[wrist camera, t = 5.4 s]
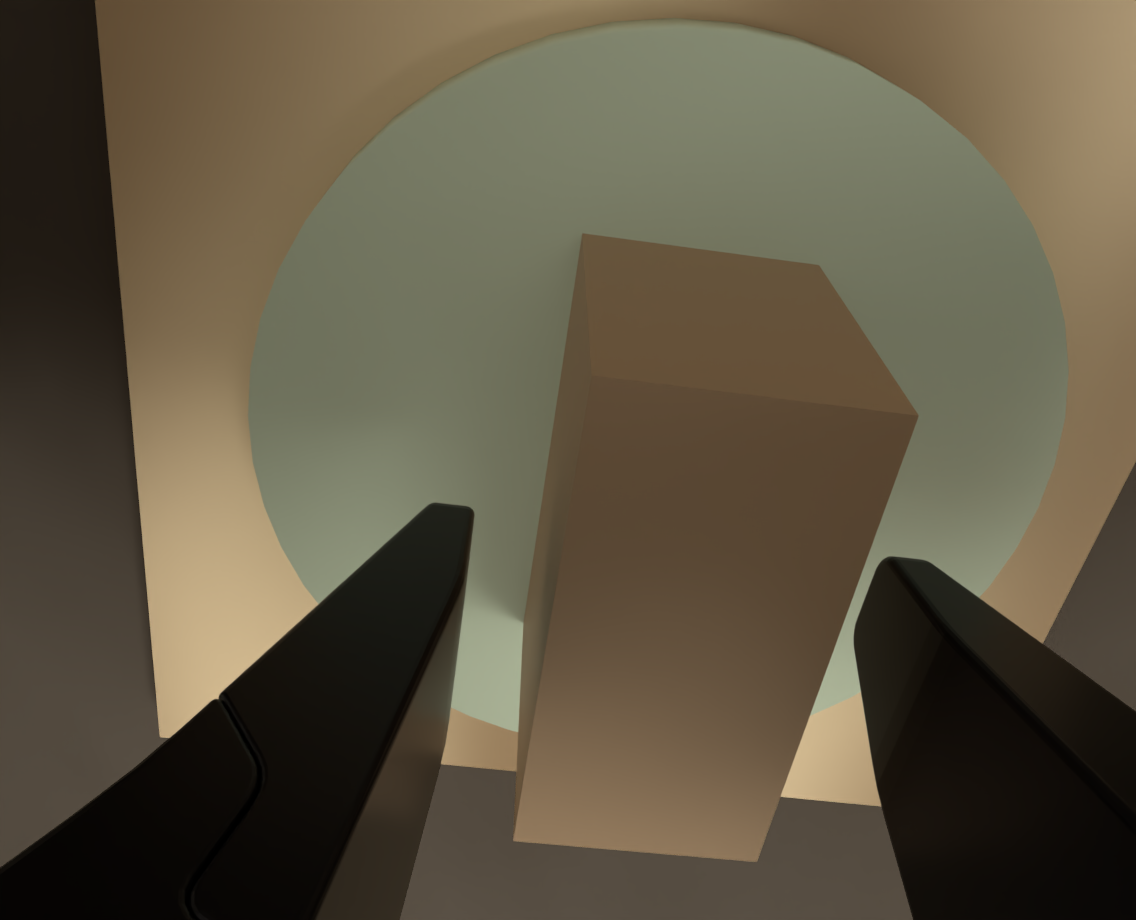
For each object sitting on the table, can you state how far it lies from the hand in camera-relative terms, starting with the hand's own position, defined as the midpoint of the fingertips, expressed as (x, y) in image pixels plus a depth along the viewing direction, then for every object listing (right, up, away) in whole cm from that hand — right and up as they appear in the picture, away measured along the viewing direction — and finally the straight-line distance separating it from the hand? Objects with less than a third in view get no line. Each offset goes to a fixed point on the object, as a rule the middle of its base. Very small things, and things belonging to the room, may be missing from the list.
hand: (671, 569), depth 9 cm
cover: (0, +1, +2) cm, 3 cm away
